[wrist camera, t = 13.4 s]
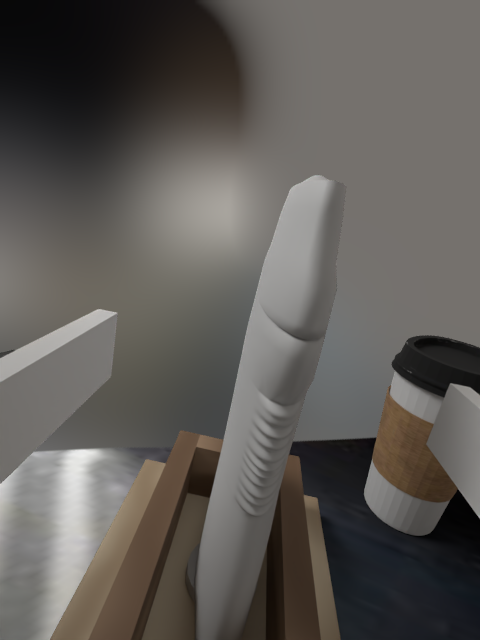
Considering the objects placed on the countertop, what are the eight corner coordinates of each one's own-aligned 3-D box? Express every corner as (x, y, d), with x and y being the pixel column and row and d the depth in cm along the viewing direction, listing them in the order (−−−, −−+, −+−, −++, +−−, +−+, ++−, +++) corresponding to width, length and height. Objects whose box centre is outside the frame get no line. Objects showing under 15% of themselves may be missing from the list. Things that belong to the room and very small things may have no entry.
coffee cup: (462, 517, 31) (532, 364, 27) (432, 571, 25) (516, 385, 21) (374, 462, 37) (421, 327, 33) (332, 496, 31) (384, 335, 27)
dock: (-45, 845, 12) (-50, 742, 10) (143, 474, 29) (152, 416, 27) (375, 957, 11) (434, 866, 10) (312, 513, 29) (330, 455, 27)
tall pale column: (198, 501, 25) (263, 180, 19) (254, 511, 26) (335, 195, 20) (164, 690, 15) (278, 136, 9) (258, 706, 15) (430, 168, 9)
